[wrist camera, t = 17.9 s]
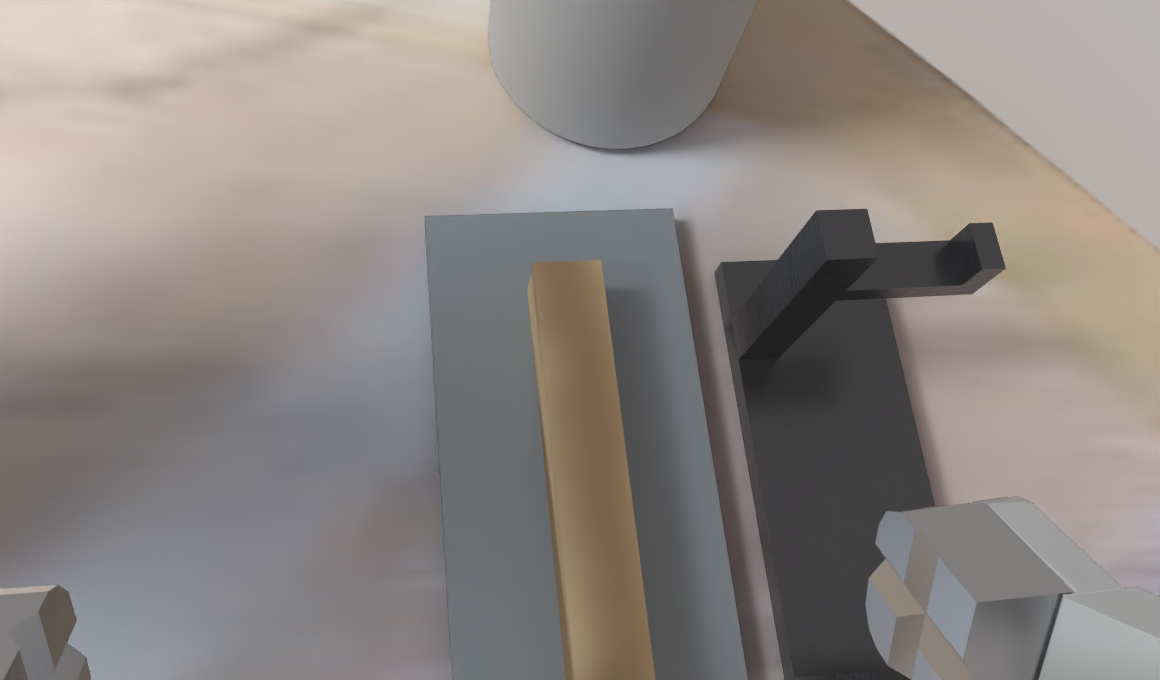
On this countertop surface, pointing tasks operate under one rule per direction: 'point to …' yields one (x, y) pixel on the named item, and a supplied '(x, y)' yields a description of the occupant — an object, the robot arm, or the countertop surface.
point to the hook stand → (833, 419)
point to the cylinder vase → (614, 63)
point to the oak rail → (587, 476)
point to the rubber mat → (515, 453)
